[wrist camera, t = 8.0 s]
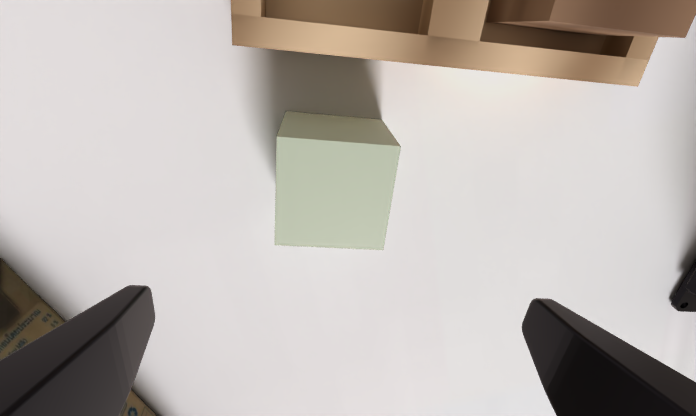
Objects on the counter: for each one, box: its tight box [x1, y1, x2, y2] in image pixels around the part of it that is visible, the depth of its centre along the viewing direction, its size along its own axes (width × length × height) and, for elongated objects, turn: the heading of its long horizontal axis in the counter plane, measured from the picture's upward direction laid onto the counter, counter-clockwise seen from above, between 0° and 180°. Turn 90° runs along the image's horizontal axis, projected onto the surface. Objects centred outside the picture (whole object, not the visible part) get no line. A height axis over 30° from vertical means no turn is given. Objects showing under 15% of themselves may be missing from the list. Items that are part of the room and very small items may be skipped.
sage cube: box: [275, 111, 401, 250], centre depth 16 cm, size 4×4×4 cm
